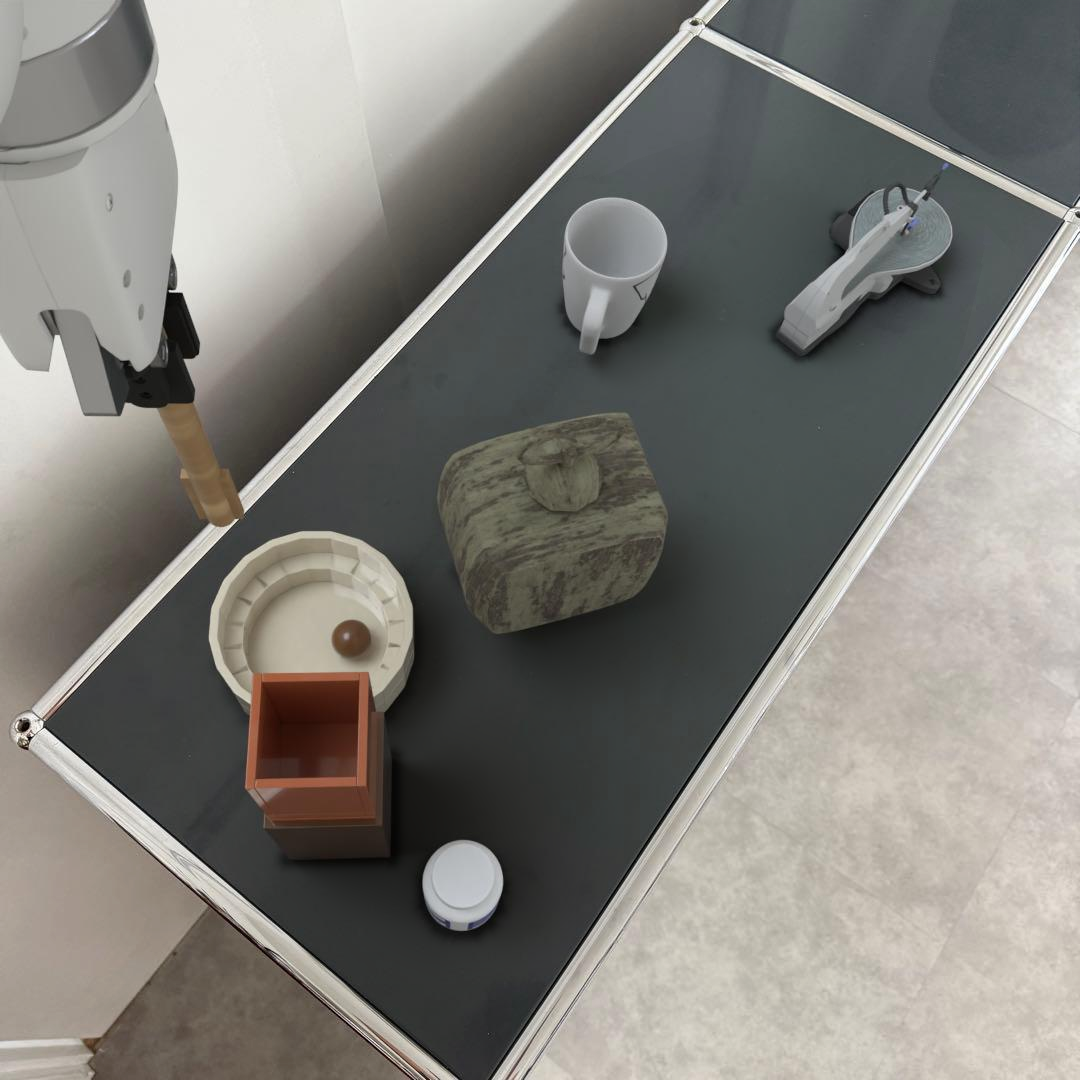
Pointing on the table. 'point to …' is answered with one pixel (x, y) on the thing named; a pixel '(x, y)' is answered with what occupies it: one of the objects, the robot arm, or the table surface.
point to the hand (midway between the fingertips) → (160, 373)
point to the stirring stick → (201, 466)
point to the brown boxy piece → (320, 764)
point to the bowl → (312, 613)
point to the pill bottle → (462, 885)
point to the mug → (610, 266)
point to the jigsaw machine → (871, 260)
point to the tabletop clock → (552, 521)
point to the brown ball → (351, 639)
